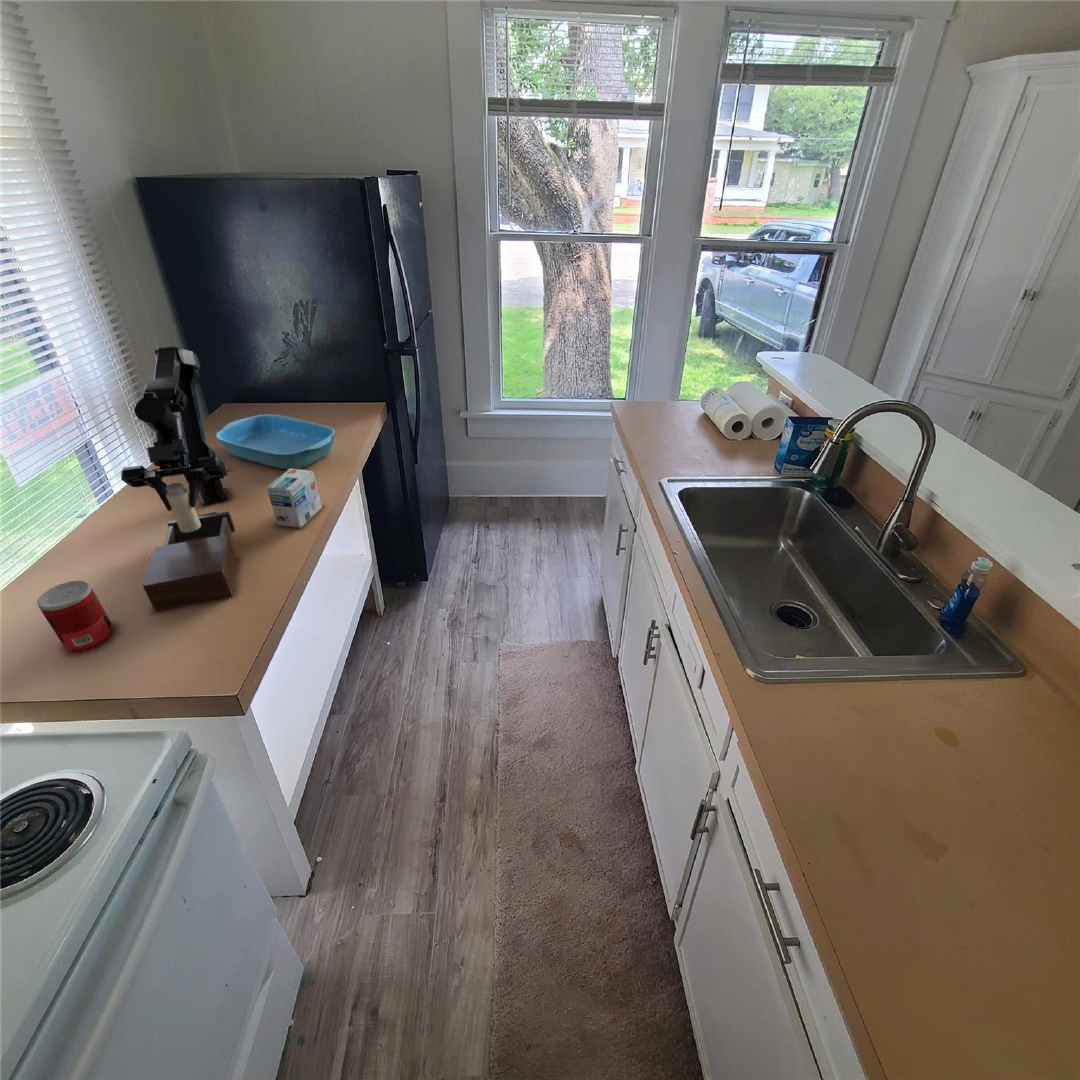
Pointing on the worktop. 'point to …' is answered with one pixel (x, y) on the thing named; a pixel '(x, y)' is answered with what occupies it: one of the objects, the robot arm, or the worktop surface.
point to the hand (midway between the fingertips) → (181, 508)
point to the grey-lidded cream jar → (182, 508)
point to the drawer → (202, 528)
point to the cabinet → (190, 573)
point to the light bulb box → (294, 497)
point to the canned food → (76, 615)
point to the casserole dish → (277, 440)
